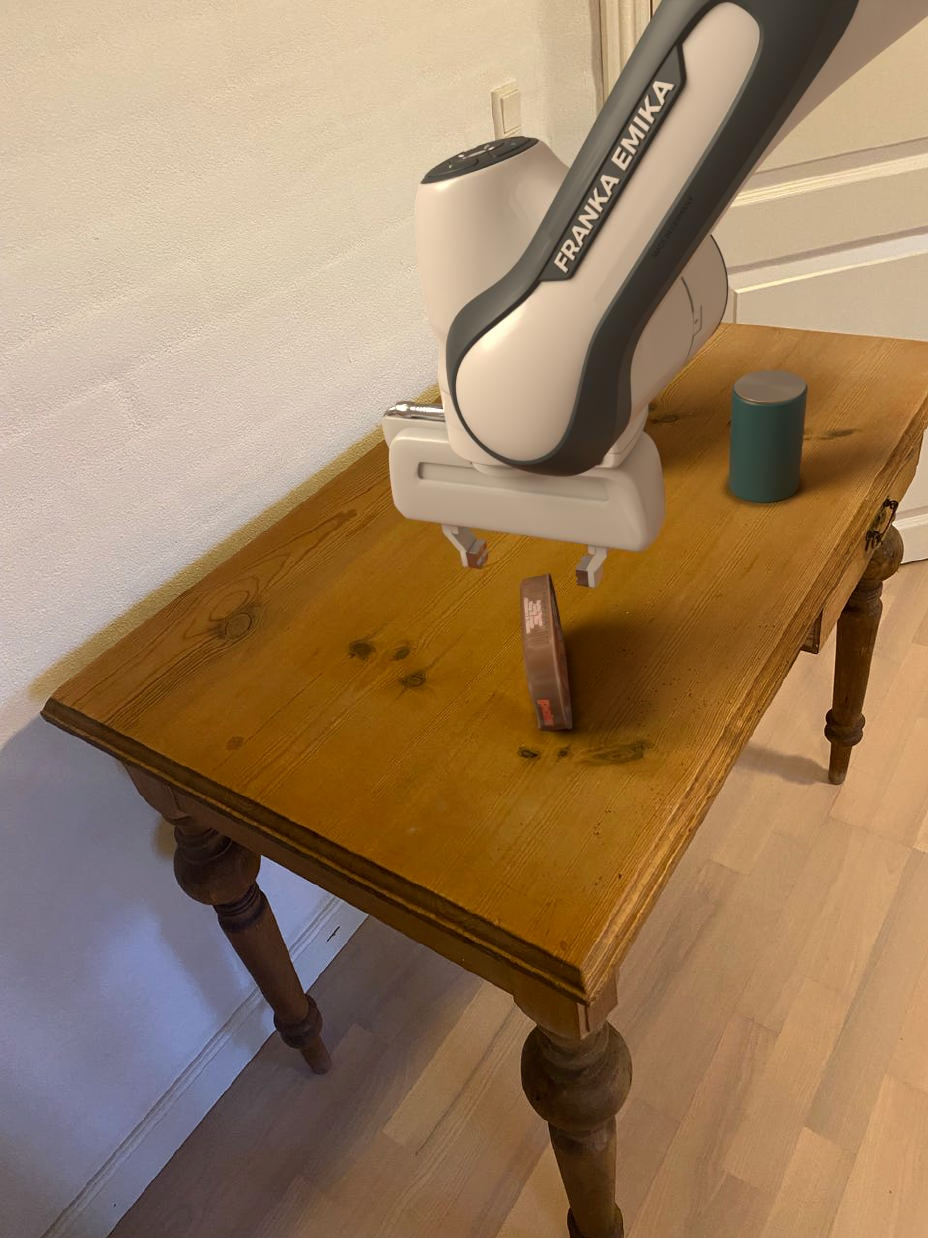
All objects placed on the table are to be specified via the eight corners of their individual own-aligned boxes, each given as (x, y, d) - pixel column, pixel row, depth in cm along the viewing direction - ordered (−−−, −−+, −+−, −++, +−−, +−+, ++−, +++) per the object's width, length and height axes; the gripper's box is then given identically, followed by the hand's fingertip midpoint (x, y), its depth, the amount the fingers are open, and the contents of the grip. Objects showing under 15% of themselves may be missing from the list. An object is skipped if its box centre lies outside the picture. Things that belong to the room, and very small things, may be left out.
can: (804, 469, 94) (813, 370, 87) (792, 506, 90) (801, 404, 83) (736, 463, 97) (740, 367, 90) (721, 498, 93) (724, 400, 86)
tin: (575, 750, 70) (565, 674, 65) (535, 754, 71) (522, 679, 65) (562, 626, 82) (554, 552, 76) (528, 629, 82) (517, 556, 77)
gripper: (355, 421, 62) (395, 577, 71) (644, 448, 53) (648, 621, 62) (397, 379, 66) (430, 531, 75) (672, 398, 57) (672, 567, 66)
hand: (531, 572), depth 68 cm, fingers open, 8 cm apart
